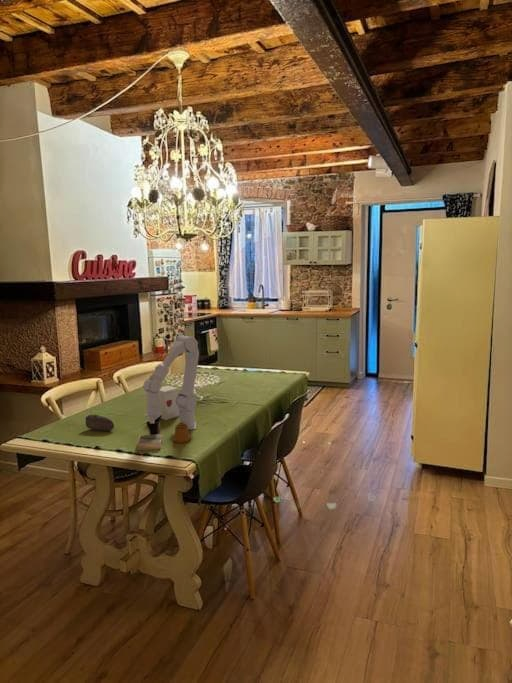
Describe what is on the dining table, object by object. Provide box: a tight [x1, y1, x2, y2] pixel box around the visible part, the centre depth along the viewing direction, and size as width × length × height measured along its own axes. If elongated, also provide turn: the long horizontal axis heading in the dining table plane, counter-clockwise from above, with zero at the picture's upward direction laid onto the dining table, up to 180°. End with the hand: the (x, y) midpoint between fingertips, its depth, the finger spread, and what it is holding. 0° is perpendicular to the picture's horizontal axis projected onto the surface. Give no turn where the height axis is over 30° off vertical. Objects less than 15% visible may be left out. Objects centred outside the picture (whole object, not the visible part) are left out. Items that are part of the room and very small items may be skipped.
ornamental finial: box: [173, 422, 192, 444], centre depth 216 cm, size 8×8×8 cm
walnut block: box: [148, 422, 162, 435], centre depth 222 cm, size 4×4×6 cm
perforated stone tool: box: [85, 414, 115, 432], centre depth 232 cm, size 15×5×7 cm, turn 68°
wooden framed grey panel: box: [135, 433, 164, 451], centre depth 211 cm, size 10×10×3 cm
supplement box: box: [159, 385, 179, 421], centre depth 249 cm, size 9×9×15 cm
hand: (155, 433), depth 222 cm, fingers open, 7 cm apart
